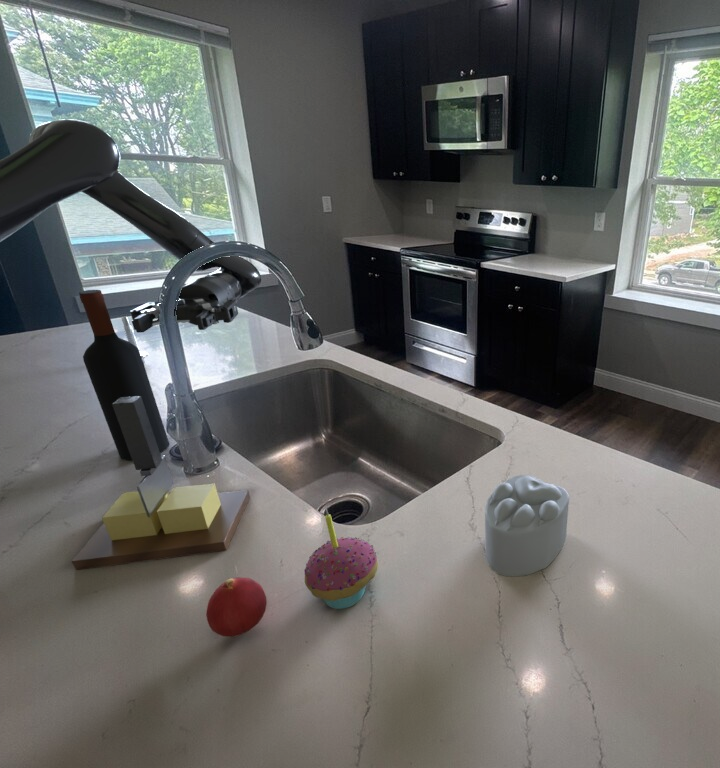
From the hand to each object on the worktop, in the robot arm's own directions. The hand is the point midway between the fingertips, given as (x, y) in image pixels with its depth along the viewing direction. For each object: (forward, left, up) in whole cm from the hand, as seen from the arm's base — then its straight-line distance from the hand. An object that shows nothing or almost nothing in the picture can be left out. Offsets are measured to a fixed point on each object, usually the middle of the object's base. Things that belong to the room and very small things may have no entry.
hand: (169, 325), depth 72 cm
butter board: (0, -16, -26) cm, 31 cm away
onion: (+15, -36, -27) cm, 47 cm away
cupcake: (+26, -33, -27) cm, 50 cm away
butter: (0, -16, -25) cm, 30 cm away
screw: (-36, +58, -27) cm, 73 cm away
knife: (0, -16, -21) cm, 26 cm away
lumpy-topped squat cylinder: (+50, -29, -27) cm, 64 cm away
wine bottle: (-14, +9, -27) cm, 31 cm away
